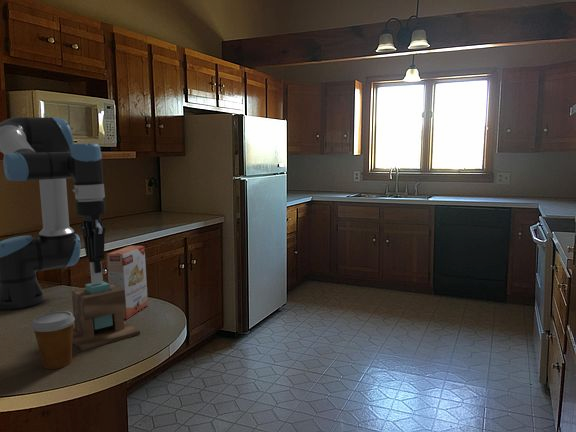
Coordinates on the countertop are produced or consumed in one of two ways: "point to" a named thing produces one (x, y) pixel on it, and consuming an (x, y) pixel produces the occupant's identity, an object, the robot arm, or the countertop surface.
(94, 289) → the block
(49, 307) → the countertop surface
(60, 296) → the countertop surface
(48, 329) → the disposable coffee cup
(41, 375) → the countertop surface
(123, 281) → the cracker box
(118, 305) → the chute
